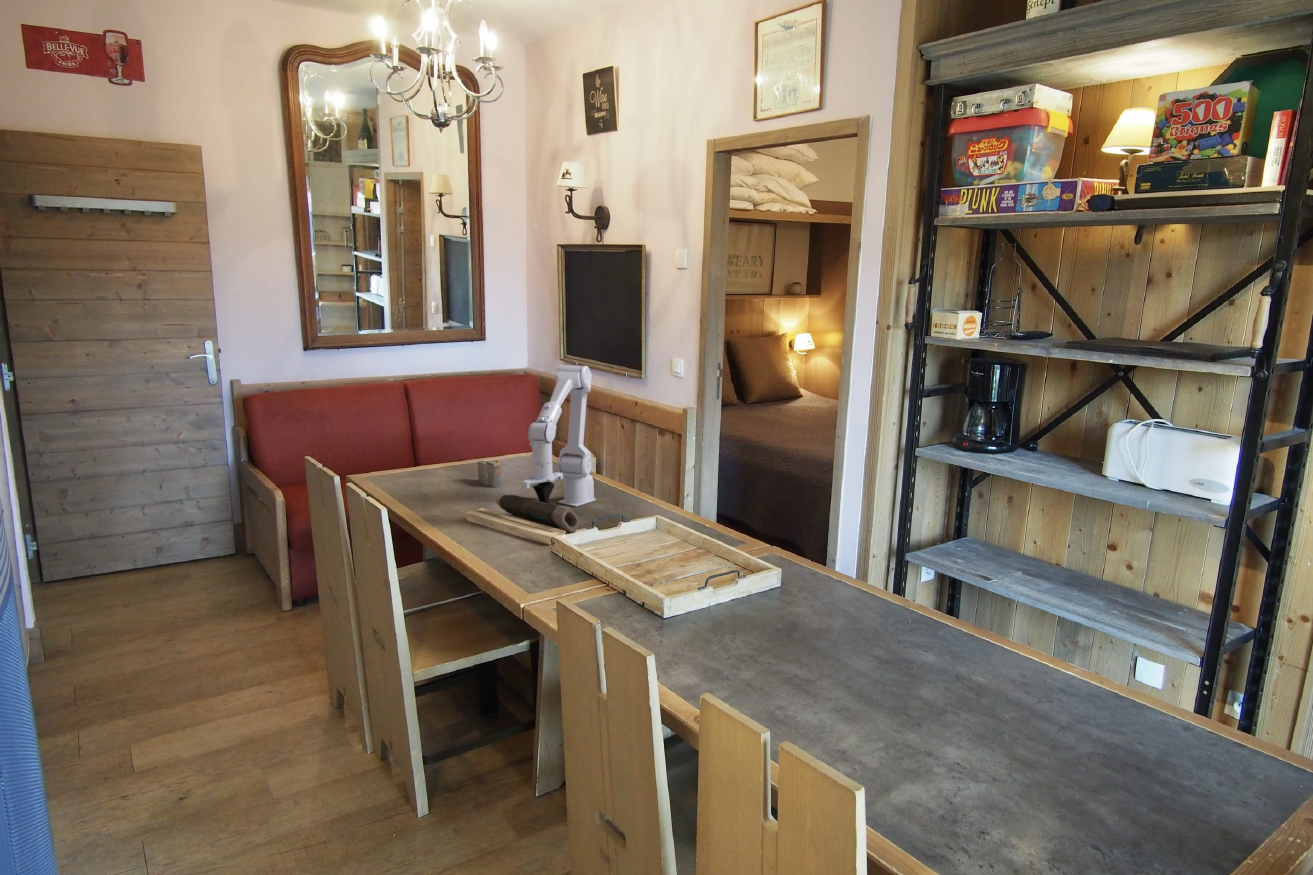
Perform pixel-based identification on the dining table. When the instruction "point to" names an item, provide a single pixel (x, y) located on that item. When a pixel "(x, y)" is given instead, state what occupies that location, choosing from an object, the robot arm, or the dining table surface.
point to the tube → (540, 512)
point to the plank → (513, 525)
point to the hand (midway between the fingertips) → (543, 506)
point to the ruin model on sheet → (489, 473)
